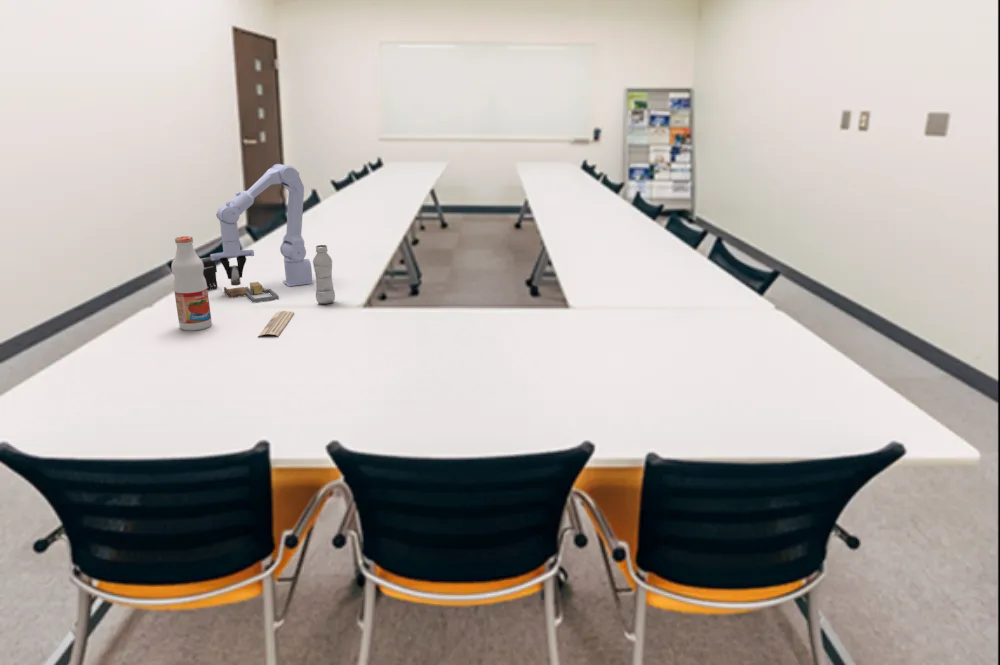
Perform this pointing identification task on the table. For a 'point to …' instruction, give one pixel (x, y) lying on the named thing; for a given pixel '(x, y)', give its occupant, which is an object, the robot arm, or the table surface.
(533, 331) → the table surface
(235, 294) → the brown flat slab
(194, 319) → the fruit juice
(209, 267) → the battery charger
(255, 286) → the block
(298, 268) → the robot arm
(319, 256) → the plastic bottle
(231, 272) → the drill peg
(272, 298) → the socket
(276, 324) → the newspaper
